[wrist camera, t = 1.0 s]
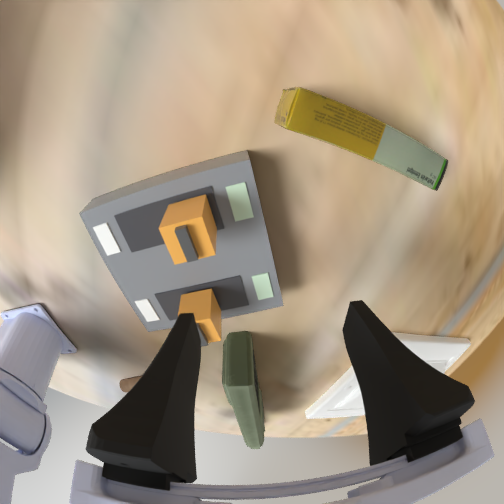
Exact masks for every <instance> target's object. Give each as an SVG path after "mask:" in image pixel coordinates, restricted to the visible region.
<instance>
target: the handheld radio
mask: <svg viewBox="0 0 504 504" xmlns="http://www.w3.org/2000/svg"><path fill="white" fill-rule="evenodd" d="M222 384H223V387H224V390H225V393H226V396H227V399H228V402H229V403H230V405H232V406H233V409H234V412H235V415H236V418H237V421H238V424H239V427H240V429H241V432H242V435H243V437H244V441H245V443H246V445H247V446H249V447H250V448H251V449H260V447H261V446H262V444H263V442H264V432H265V426H264V413H263V402H262V394H261V390H260V389H259V383H258V379H257V372H256V365H255V357H254V350H253V343H252V337H251V334H250V332H247V331H242V332H233V333H229V334H228V336H227V339H226V340H225V341H224V344H223V371H222Z"/></svg>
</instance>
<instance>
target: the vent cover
mask: <svg viewBox="0 0 504 504" xmlns="http://www.w3.org/2000/svg"><path fill="white" fill-rule="evenodd" d="M392 333H393V334H394V335H395V336H396V337H397V338H398V339H399V340H400V341H401V342H402V343H403V344H404V345H405V346H406V347H407V348H409V349H410V350H411V351H412V352H413V353H415V354H416V355H417V356H418V357H419V358H421V359H422V360H423V361H425V362H426V363H428V364H429V365H431V366H432V367H433V368H435V369H436V370H438V371H440V372H441V373H443V374H444V373H445V371H446V370H447V369H448V368H449V367H450V366H451V365H452V364H453V363H454V362H455V361H456V360H457V359H458V358H459V357H460V356H461V355H462V354H463V353H464V352H465V351H466V349H467V348H468V347H469V346H470V345H471V343H470V341H469V340H468V338H455V337H441V336H428V335H417V334H407V333H397V332H392ZM305 414H306V418H307V419H313V418H335V417H349V416H360V415H365V410H364V404H363V399H362V394H361V391H360V387H359V384H358V381H357V378H356V375H355V372H354V369H353V366H351V367H350V368H349V369H348V370H347V371H346V372H345V373H344V374H343V375H342V376H341V377H340V378H339V379H338V380H337V381H336V382H335V383H334V384H333V385H332V386H331V387H330V388H329V389H328V390H327V391H326V392H325V393H324V394H323V395H322V396H321V397H320V398H319V399H318V400H317V401H316V402H314V403H313V404H312V405H311V406H310V407H309V408H308V409H307V410H306V411H305Z"/></svg>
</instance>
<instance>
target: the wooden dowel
mask: <svg viewBox="0 0 504 504" xmlns="http://www.w3.org/2000/svg"><path fill="white" fill-rule="evenodd" d="M141 377H142V376H139V377H134V378H128V379H123V380H121V381H120V388H121V390H122V391H123V392H129V391H130V390H131V389H132V387H133V386H134V385H135V384H136V383H137V382H138V380H139V379H140V378H141Z"/></svg>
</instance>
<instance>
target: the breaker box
mask: <svg viewBox="0 0 504 504" xmlns="http://www.w3.org/2000/svg"><path fill="white" fill-rule="evenodd" d="M205 194H206V196H207V199H208V202H209V205H210V208H211V212H212V215H213V218H214V221H215V224H216V227H217V238H216V255H214V256H209V257H205V258H201V259H198V260H196V261H192V262H184V263H180V264H176V265H175V264H174V262H173V260H172V258H171V255H170V253H169V251H168V249H167V247H166V244H165V242H164V240H163V237H162V235H161V233H160V231H159V226H160V224H161V221H162V219H163V217H164V214H165V212H166V210H167V207H168V205H169V204H173V203H176V202H180V201H183V200H187V199H190V198H194V197H198V196H201V195H205ZM79 214H80V216H81V218H82V220H83V222H84V224H85V226H86V228H87V230H88V232H89V234H90V236H91V238H92V240H93V242H94V244H95V246H96V247H97V249H98V251H99V253H100V255H101V257H102V258H103V260H104V262H105V264H106V265H107V267H108V269H109V271H110V272H111V274H112V276H113V278H114V279H115V281H116V283H117V284H118V286H119V288H120V289H121V291H122V292H123V294H124V296H125V297H126V299H127V300H128V302H129V304H130V305H131V307H132V308H133V310H134V311H135V313H136V314H137V316H138V317H139V319H140V320H141V322H142V323H143V325H144V326H145V328H146V329H147V330H148V332H150V331H156V330H163V329H169V328H173V326H174V324H175V322H176V320H177V317H178V312H179V305H180V299H181V295H183V294H188V293H192V292H197V291H202V290H206V289H211V288H212V291H213V293H214V295H215V298H216V300H217V302H218V305H219V307H220V309H221V319H224V318H229V317H234V316H239V315H243V314H248V313H253V312H258V311H262V310H267V309H271V308H276V307H280V306H284V305H283V301H282V296H281V292H280V287H279V283H278V278H277V274H276V269H275V265H274V260H273V256H272V251H271V247H270V243H269V238H268V234H267V230H266V225H265V221H264V217H263V212H262V208H261V204H260V200H259V196H258V191H257V187H256V183H255V179H254V175H253V171H252V166H251V162H250V158H249V155H248V152H247V150H246V151H242V152H238V153H233V154H230V155H226V156H222V157H218V158H214V159H211V160H207V161H203V162H200V163H196V164H193V165H189V166H186V167H183V168H179V169H176V170H173V171H170V172H167V173H163V174H160V175H157V176H154V177H151V178H148V179H145V180H142V181H140V182H137V183H134V184H131V185H128V186H125V187H123V188H120V189H117V190H115V191H112V192H109V193H107V194H104V195H102V196H99V197H97V198H94V199H92V200H91V202H90V203H89V204H88V205H87V206H86V207H85V208H84V209H83V210H82V211H81V212H80V213H79Z"/></svg>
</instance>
